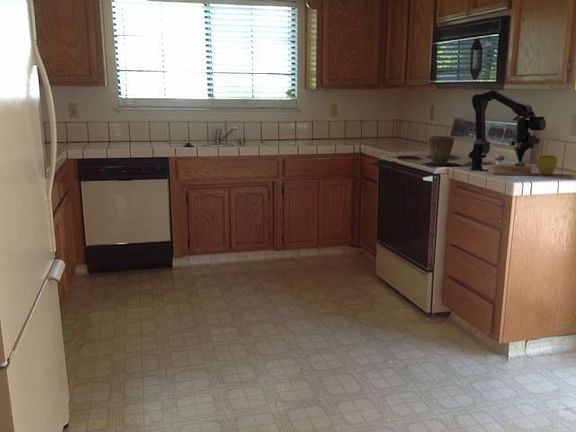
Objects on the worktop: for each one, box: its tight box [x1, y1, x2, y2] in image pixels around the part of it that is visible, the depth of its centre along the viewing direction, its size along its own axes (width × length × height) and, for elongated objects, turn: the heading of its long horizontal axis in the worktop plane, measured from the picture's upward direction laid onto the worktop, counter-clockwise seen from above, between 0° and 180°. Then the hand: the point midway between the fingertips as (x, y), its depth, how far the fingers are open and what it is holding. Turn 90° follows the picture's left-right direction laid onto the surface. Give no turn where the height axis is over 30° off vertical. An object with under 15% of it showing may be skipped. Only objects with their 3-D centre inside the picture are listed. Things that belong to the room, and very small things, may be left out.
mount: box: [487, 164, 532, 176], centre depth 276 cm, size 10×18×4 cm, turn 84°
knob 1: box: [494, 154, 506, 166], centre depth 276 cm, size 4×4×6 cm
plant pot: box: [427, 135, 455, 166], centre depth 319 cm, size 15×15×16 cm
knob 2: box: [514, 160, 526, 166], centre depth 275 cm, size 4×4×6 cm
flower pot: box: [537, 154, 558, 176], centre depth 274 cm, size 9×9×9 cm
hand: (519, 161), depth 275 cm, fingers closed, pressing on knob 2
